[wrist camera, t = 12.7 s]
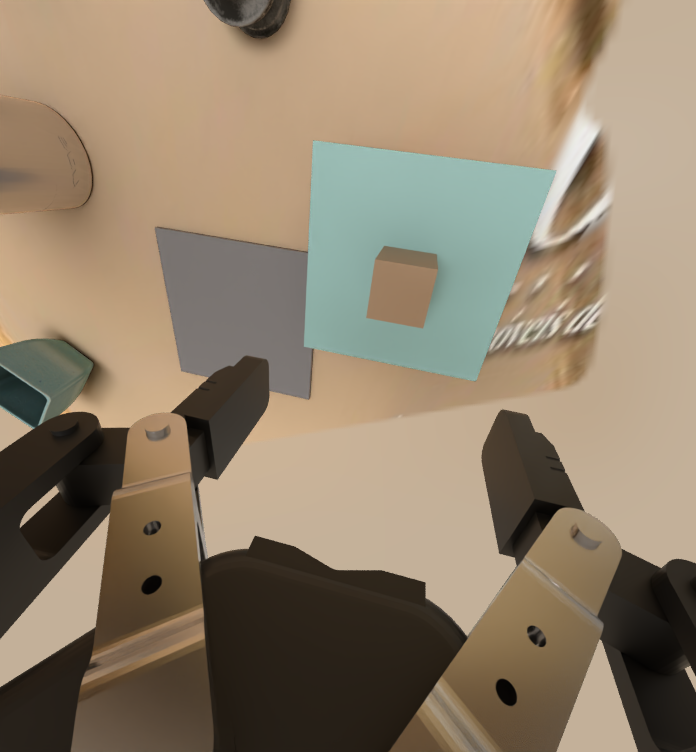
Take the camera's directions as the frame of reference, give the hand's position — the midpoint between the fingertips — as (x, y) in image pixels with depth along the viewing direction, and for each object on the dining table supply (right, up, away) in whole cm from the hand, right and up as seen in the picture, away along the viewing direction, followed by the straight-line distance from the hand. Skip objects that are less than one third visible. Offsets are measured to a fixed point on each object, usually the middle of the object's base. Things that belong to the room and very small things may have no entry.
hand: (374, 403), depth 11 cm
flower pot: (-41, +3, +37) cm, 56 cm away
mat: (-14, +8, +28) cm, 32 cm away
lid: (+4, +9, +15) cm, 18 cm away
